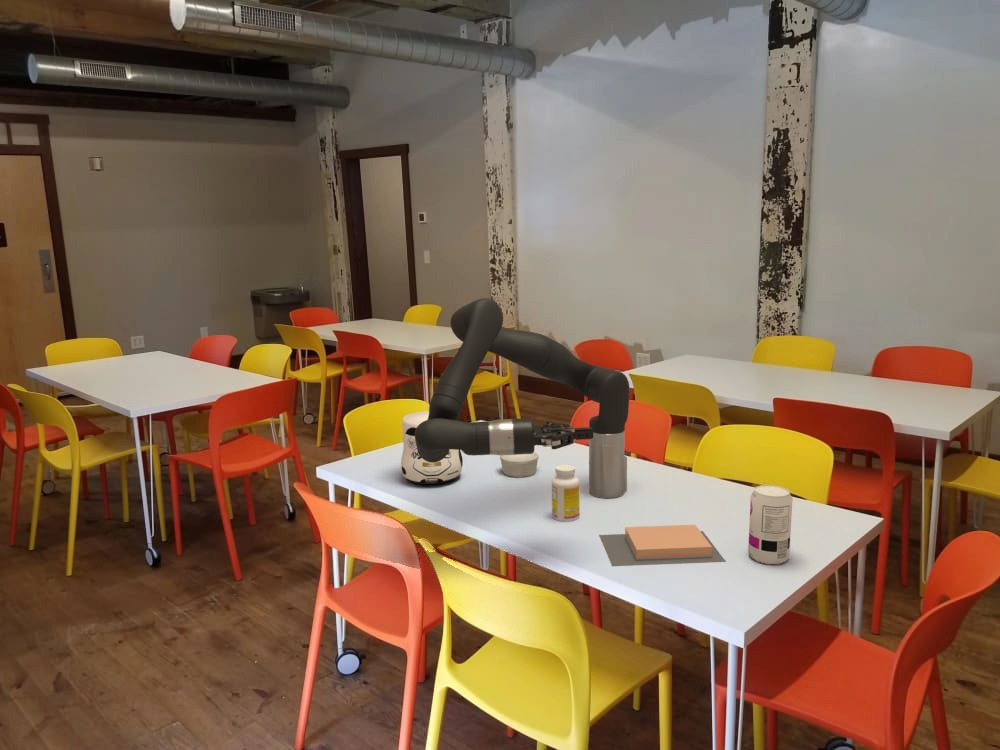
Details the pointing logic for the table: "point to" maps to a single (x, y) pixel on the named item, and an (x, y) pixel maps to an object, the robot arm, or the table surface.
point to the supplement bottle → (565, 494)
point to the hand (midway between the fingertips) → (592, 432)
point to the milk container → (418, 467)
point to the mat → (623, 556)
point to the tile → (667, 542)
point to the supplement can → (770, 524)
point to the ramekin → (519, 464)
